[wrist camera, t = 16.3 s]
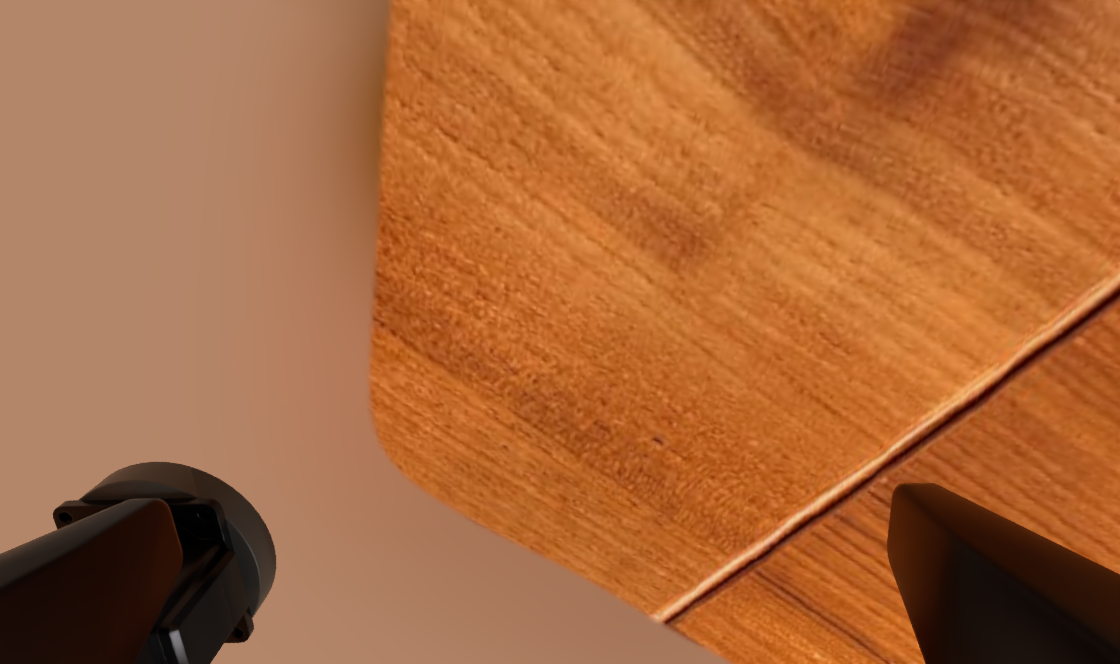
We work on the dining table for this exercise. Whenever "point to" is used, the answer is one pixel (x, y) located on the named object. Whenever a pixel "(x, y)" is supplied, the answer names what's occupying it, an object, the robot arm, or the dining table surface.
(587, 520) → the dining table surface
